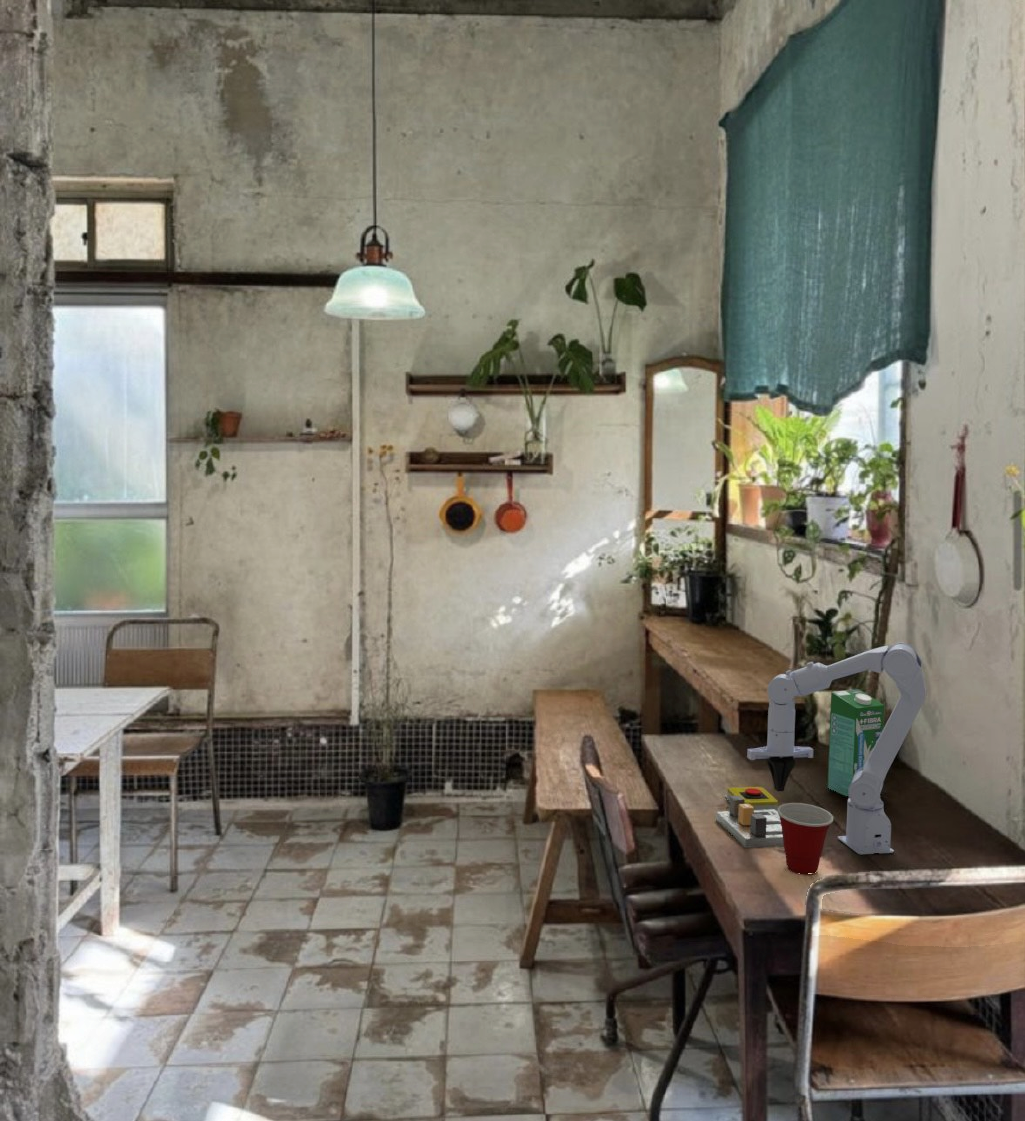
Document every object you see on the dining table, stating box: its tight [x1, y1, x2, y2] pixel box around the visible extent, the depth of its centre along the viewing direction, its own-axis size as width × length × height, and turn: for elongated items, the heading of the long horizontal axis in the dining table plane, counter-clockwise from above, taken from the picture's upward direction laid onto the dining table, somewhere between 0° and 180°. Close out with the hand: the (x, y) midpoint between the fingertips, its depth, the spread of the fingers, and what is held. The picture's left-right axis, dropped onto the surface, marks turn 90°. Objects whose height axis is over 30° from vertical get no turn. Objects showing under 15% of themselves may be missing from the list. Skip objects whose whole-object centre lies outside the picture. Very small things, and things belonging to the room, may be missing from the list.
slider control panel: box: [716, 796, 784, 849], centre depth 216 cm, size 17×14×6 cm
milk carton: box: [827, 688, 885, 798], centre depth 245 cm, size 9×9×25 cm
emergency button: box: [723, 786, 779, 812], centre depth 235 cm, size 9×4×15 cm
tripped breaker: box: [738, 804, 754, 825], centre depth 216 cm, size 3×2×4 cm
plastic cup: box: [777, 802, 834, 875], centre depth 195 cm, size 11×11×12 cm
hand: (779, 789), depth 216 cm, fingers closed
